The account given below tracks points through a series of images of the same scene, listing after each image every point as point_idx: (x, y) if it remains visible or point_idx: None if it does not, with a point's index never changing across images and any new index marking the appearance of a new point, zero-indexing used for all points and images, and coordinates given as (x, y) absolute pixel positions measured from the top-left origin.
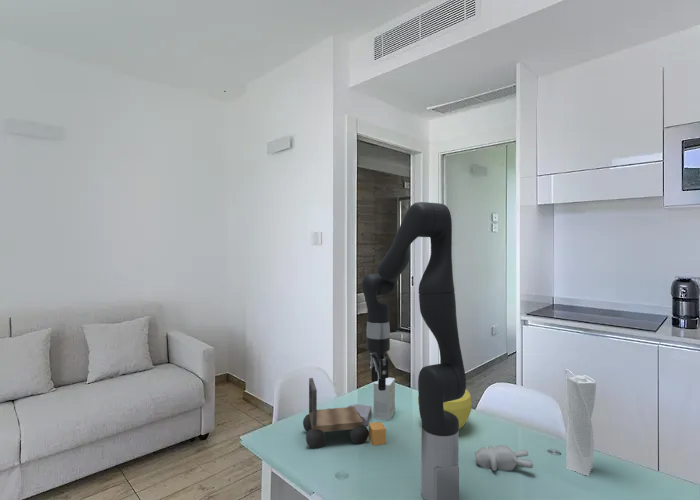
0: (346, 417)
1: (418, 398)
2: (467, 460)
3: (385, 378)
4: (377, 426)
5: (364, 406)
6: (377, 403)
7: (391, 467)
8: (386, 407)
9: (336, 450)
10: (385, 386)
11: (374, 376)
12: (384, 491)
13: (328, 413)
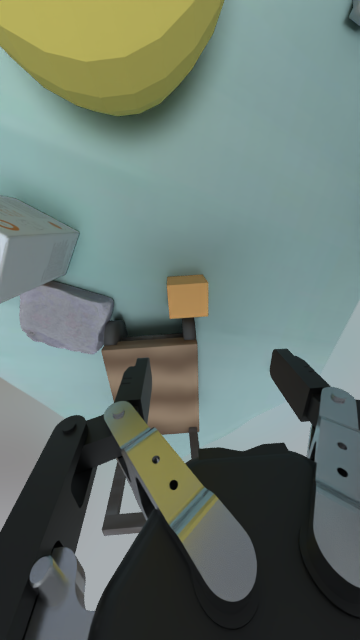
0: (167, 375)
1: (76, 92)
2: (335, 61)
3: (322, 387)
4: (191, 301)
5: (35, 301)
6: (46, 273)
7: (288, 284)
8: (60, 244)
9: (206, 366)
10: (293, 356)
11: (147, 388)
12: (345, 312)
13: None
